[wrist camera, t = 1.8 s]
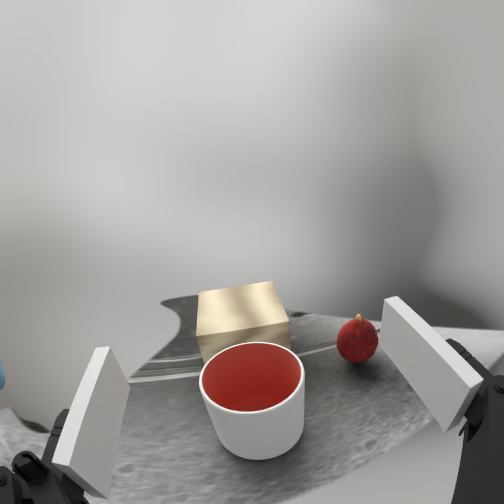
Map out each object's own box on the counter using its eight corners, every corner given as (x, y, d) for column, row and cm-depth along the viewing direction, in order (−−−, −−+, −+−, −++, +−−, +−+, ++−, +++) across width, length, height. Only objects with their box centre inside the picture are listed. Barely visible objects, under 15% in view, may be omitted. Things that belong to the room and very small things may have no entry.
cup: (319, 418, 30) (323, 360, 26) (269, 478, 23) (259, 433, 19) (254, 388, 36) (244, 330, 32) (201, 435, 29) (177, 381, 25)
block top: (205, 366, 34) (196, 336, 33) (205, 319, 45) (199, 292, 43) (290, 352, 35) (289, 321, 33) (274, 308, 45) (271, 280, 44)
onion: (382, 360, 37) (390, 315, 34) (355, 380, 34) (362, 335, 31) (354, 342, 41) (358, 299, 39) (327, 360, 39) (329, 315, 36)
